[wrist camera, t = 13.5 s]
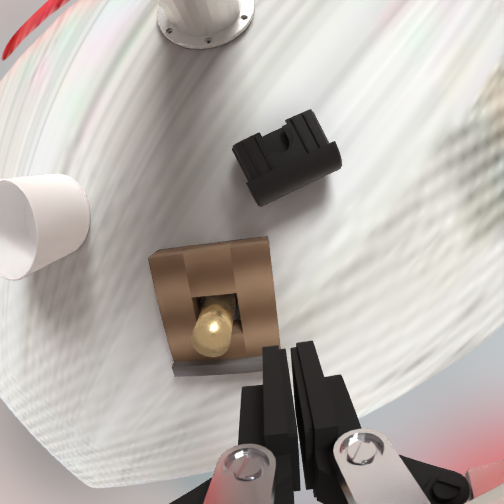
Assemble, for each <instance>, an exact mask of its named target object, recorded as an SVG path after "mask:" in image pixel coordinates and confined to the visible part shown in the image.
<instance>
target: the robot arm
mask: <svg viewBox="0 0 504 504" xmlns="http://www.w3.org/2000/svg"><path fill="white" fill-rule="evenodd" d="M157 1H158V3H159V9H158V13H157V20H158V25H159V27H160V29H161V31H162V33H163V34H164V35H165V36H166V37H167V38H168V39H169V40H170V41H171V42H173V43H175V44H176V45H179V46H182V47H185V48H191V49H206V48H213V47H216V46H220V45H223V44H225V43H227V42H230V41H231V40H233V39H234V38H236V37H238V36H239V35H240V34H241V33H242V32H243V31H244V30H245V29H246V28H247V27H248V25H249V24H250V22H251V20H252V18H253V14H254V0H157ZM244 19H246V20H244ZM170 32H171V33H170ZM208 42H210V43H208ZM262 358H263V385H256V386H244V387H242V393H241V408H240V423H239V437H238V446H234V447H232V448H230V449H228V450H227V451H225V452H224V453H223V454H222V455H221V457H220V458H219V460H218V462H217V465H216V468H215V471H214V474H213V477H212V478H210V479H209V480H207V481H206V482H204V483H203V484H201V485H200V486H198V487H196V488H195V489H193V490H192V491H190V492H188V493H187V494H185V495H183V496H182V497H180V498H178V499H176V500H175V501H173V502H171V503H170V504H294V493H293V491H300V469H299V450H298V434H299V441H300V448H301V455H302V463H303V470H304V478H305V485H306V490H309V489H313V493H314V497H317V501H319V502H321V503H323V504H504V460H501V461H498V462H495V463H492V464H488V465H485V466H481V467H477V468H473V469H469V470H468V471H467V472H466V473H464V474H459V473H457V472H455V471H451V470H447V469H444V468H440V467H437V466H433V465H430V464H426V463H423V462H420V461H417V460H414V459H410V458H407V457H404V456H401V455H398V454H397V452H396V451H395V449H394V448H393V446H392V445H391V443H390V442H389V440H388V439H387V438H386V437H385V436H384V435H383V434H382V433H380V432H378V431H375V430H372V429H362V428H361V426H360V423H359V420H358V417H357V415H356V412H355V409H354V407H353V404H352V401H351V399H350V396H349V393H348V391H347V388H346V385H345V383H344V380H343V378H342V376H341V375H334V376H328V377H324V375H323V372H322V369H321V365H320V362H319V359H318V355H317V352H316V349H315V346H314V343H313V341H307V342H299V343H296V347H294V348H291V361H292V374H293V387H294V400H295V410H294V403H293V396H292V389H291V383H290V376H289V369H288V362H287V356H286V349H279V345H275V346H266V347H262ZM295 412H296V417H295ZM296 420H297V425H296ZM297 427H298V434H297Z"/></svg>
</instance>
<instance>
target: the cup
mask: <svg viewBox="0 0 504 504" xmlns="http://www.w3.org/2000/svg"><path fill="white" fill-rule="evenodd" d="M89 225H90V209H89V204H88V200H87V197H86V195H85V193H84V191H83V189H82V188H81V186H80V185H79V184H78V183H77V182H76V181H75V180H74V179H73V178H71V177H69V176H67V175H62V174H50V175H37V176H26V177H15V178H6V179H0V276H1V277H4V278H6V279H8V280H14V281H15V280H20V279H22V278H24V277H26V276H28V275H30V274H32V273H33V272H35V271H37V270H39V269H41V268H43V267H45V266H47V265H49V264H51V263H53V262H54V261H56V260H58V259H60V258H62V257H64V256H66V255H68V254H70V253H72V252H74V251H76V250H77V249H78V248H79V247H80V246H81V245H82V243H83V242H84V240H85V238H86V236H87V233H88V230H89Z"/></svg>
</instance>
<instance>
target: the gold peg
mask: <svg viewBox="0 0 504 504" xmlns="http://www.w3.org/2000/svg"><path fill="white" fill-rule="evenodd" d="M235 307H236V299H235V297H234V295H233V294H232V293H231V294H221V295H211V296H207V297H206V299H205V302H204V305H203V307H202V310H201V312H200V315H199V317H198V320H197V323H196V325H195V328H194V330H193V333H192V336H191V342H192V345H193V347H194V348H195V350H196V351H197V352H199V353H200V354H202V355H204V356H207V357H218V356H221V355H223V354H224V353H225V352H226V351H227V350H228V349H229V346H230V340H231V334H232V327H233V321H234V314H235Z"/></svg>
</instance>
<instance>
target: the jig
mask: <svg viewBox="0 0 504 504" xmlns="http://www.w3.org/2000/svg"><path fill="white" fill-rule="evenodd" d="M148 260H149V265H150V270H151V274H152V279H153V283H154V288H155V292H156V296H157V300H158V304H159V309H160V313H161V316H162V320H163V324H164V328H165V332H166V335H167V339H168V343H169V346H170V350H171V353H172V357H173V360H174V363H173V365H172V369H173V372H174V375H175V376H204V375H222V374H236V373H248V372H259V371H263V358H262V347H266V346H275V345H279V349H281V348H280V339H279V329H278V320H277V311H276V302H275V293H274V284H273V275H272V266H271V257H270V249H269V241H268V236H266V237H258V238H249V239H241V240H233V241H225V242H217V243H209V244H201V245H193V246H186V247H178V248H170V249H163V250H158V251H156V252H155V253H154V254H153V255H152V256H150V257H149V258H148ZM231 293H237V298H238V304H239V311H240V317H241V320H234V321H233V327H232V334H231V340H230V346H229V349H228V350H227V351H226V352H225V353H224V354H223V355H221V356H218V357H207V356H204V355H202V354H200V353H199V352H197V351H196V350H195V348H194V347H193V345H192V342H191V336H192V333H193V330H194V328H195V325H196V323H197V320H198V317H199V315H200V312H201V310H202V307H201V302H200V297H201V296H211V295H221V294H231Z"/></svg>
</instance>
